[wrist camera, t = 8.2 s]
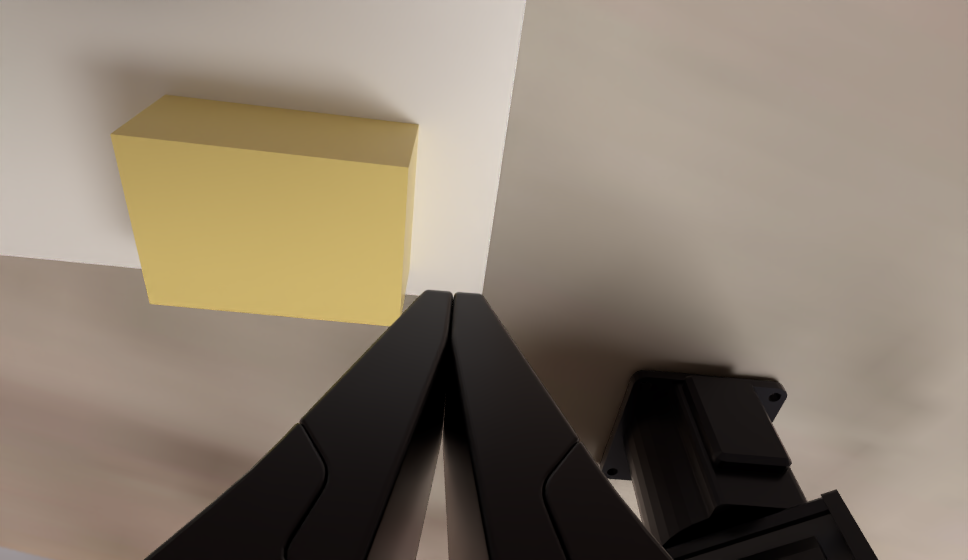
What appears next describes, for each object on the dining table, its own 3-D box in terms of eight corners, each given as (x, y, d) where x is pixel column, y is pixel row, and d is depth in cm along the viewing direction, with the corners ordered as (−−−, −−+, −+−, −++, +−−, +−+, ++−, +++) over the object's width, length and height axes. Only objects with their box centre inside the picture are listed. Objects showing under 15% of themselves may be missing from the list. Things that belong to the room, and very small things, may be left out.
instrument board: (480, 277, 22) (481, 360, 18) (-105, 218, 20) (-234, 296, 17) (552, -215, 14) (578, -246, 10) (-386, -367, 13) (-746, -465, 9)
